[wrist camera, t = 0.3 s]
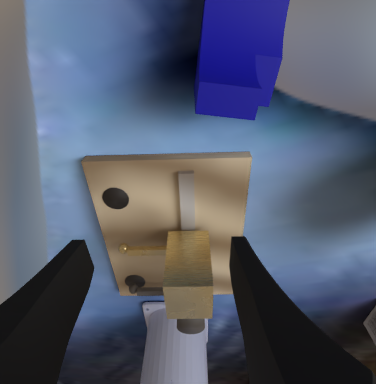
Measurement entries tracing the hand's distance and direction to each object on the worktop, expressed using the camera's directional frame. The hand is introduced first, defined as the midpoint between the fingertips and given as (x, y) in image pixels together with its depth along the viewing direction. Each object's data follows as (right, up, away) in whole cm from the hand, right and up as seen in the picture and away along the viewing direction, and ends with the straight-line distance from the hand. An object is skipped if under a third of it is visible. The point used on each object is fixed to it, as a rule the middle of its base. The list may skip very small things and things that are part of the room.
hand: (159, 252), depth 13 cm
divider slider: (-1, -2, +11) cm, 11 cm away
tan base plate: (0, -1, +12) cm, 12 cm away
